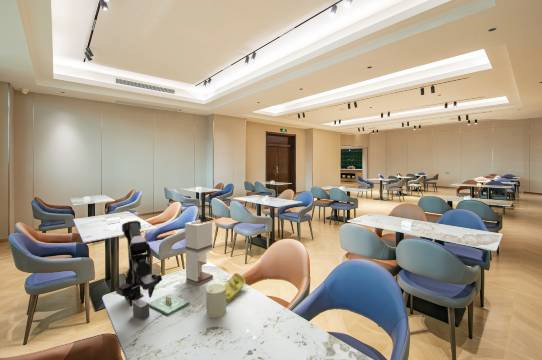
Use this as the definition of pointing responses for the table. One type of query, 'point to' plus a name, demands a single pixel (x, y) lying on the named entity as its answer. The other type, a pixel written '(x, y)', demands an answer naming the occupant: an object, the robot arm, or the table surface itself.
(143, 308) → the grey ice pop
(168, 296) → the pcb board
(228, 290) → the plastic component
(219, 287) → the can
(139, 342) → the table surface
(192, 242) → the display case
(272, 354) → the table surface
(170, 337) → the table surface
